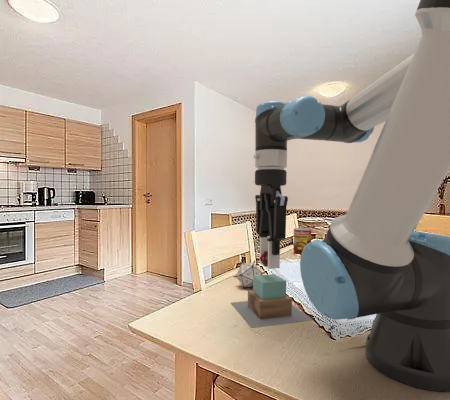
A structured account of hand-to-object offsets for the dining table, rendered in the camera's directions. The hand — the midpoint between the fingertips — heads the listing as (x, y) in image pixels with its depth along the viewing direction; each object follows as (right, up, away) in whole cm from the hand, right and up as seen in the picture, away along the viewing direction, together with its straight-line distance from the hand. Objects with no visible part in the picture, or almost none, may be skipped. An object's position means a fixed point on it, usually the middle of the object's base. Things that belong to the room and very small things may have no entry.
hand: (269, 265), depth 75 cm
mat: (0, -12, 0) cm, 12 cm away
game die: (-3, -11, +19) cm, 22 cm away
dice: (0, -1, 0) cm, 1 cm away
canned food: (+25, -10, +68) cm, 73 cm away
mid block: (0, -7, 0) cm, 7 cm away
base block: (0, -11, 0) cm, 11 cm away
